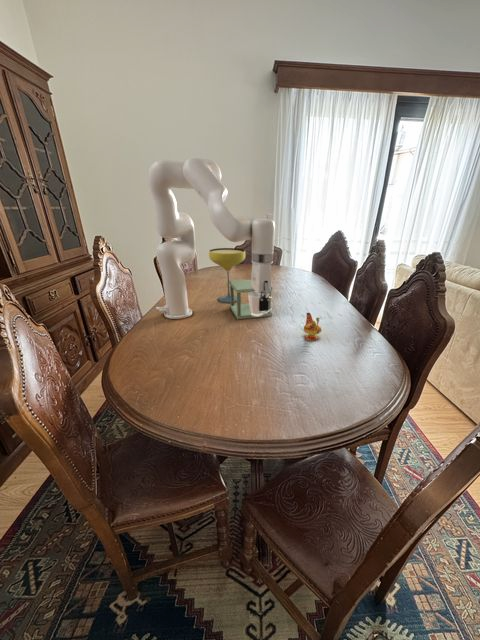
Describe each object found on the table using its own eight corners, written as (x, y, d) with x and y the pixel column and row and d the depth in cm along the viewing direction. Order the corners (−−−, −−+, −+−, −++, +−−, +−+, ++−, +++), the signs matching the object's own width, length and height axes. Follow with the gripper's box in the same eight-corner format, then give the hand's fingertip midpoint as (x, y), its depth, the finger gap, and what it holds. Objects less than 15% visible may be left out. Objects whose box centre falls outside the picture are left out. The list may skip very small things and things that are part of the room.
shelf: (237, 319, 128) (236, 289, 122) (230, 307, 142) (229, 280, 135) (271, 316, 132) (272, 287, 126) (261, 305, 146) (261, 278, 140)
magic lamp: (314, 327, 122) (317, 302, 117) (324, 346, 106) (328, 318, 101) (298, 327, 121) (300, 302, 116) (306, 346, 105) (309, 318, 100)
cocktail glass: (252, 298, 156) (252, 250, 144) (232, 307, 142) (230, 255, 130) (226, 292, 164) (224, 246, 152) (204, 300, 150) (200, 251, 139)
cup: (246, 311, 111) (246, 291, 107) (271, 310, 112) (272, 290, 108) (248, 318, 105) (249, 297, 101) (275, 317, 107) (276, 297, 102)
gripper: (245, 253, 105) (245, 300, 113) (259, 263, 90) (257, 316, 99) (264, 253, 107) (263, 299, 116) (281, 263, 93) (277, 314, 101)
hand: (260, 306), depth 107 cm, fingers closed on cup, 6 cm apart
